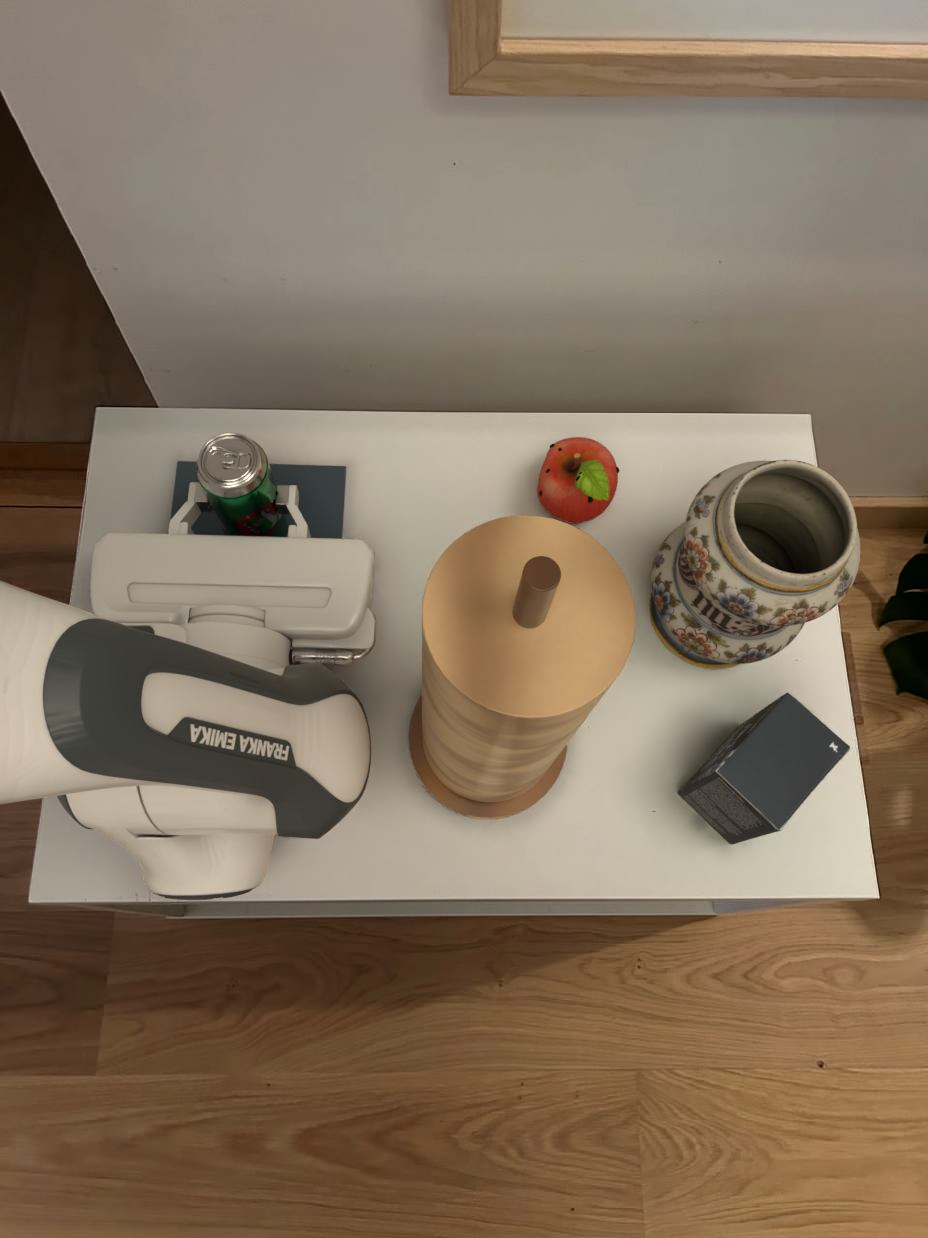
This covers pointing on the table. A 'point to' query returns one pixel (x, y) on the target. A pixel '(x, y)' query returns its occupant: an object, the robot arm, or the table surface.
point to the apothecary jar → (753, 563)
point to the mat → (314, 484)
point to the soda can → (240, 486)
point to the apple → (577, 480)
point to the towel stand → (514, 660)
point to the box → (764, 771)
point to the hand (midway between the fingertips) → (245, 486)
